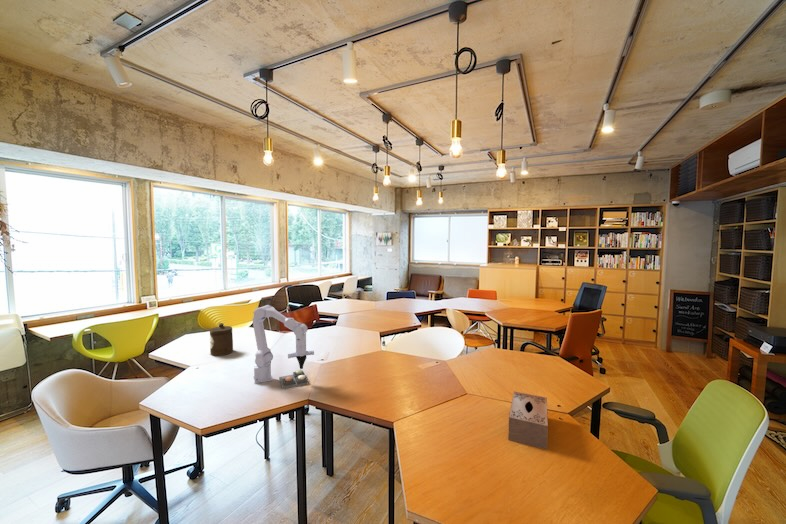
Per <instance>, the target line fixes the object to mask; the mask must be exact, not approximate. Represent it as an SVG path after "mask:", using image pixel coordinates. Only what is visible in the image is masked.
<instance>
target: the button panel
mask: <svg viewBox="0 0 786 524" xmlns="http://www.w3.org/2000/svg"><path fill="white" fill-rule="evenodd" d="M305 374H306V373H305V372H304V370H302V374H299V375H305ZM299 375H296V374H295V371H292V374H289V375H283V376H278V379H279V383H280V386H281V389H282V390H283V389H285V390H286V389H289V388H294V387H295V388H296V387H300V386H306V385H308V384H309V382H308V378H307V376H306V375H305V379H304V380H298V376H299ZM289 376H290V377H292V381H289V382H286V381H285V378H286V377H289Z"/></svg>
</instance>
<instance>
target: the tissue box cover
mask: <svg viewBox="0 0 786 524" xmlns="http://www.w3.org/2000/svg"><path fill="white" fill-rule="evenodd" d="M548 417H549V416H548V398H547V397H546V396H540V395H534V394H530V393H524V392H519V391H513V394H512V398H511V404H510V411H509V416H508V433H507V434H508V436H507V439H508V441H510V442H515V443H518V444H522V445H526V446H529V447H532V448H533V447H534V448H537V449H543V450H547V451H548V437H549V436H548V434H549V433H548V432H549V429H548V427H549V424H548V421H549V420H548Z"/></svg>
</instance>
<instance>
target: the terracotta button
mask: <svg viewBox="0 0 786 524" xmlns="http://www.w3.org/2000/svg"><path fill="white" fill-rule="evenodd" d="M285 381H286V382H289V381H292V377H290V376H289V377H286V378H285Z"/></svg>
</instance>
